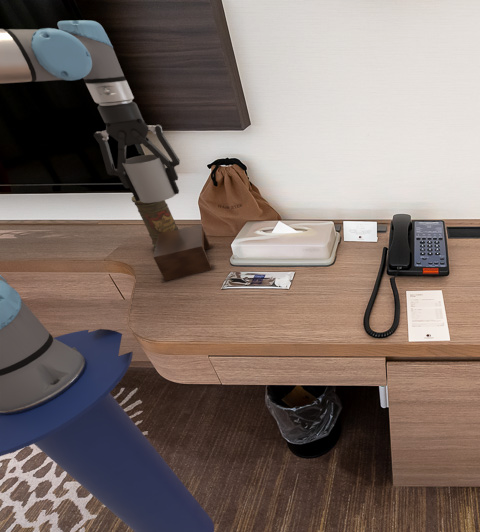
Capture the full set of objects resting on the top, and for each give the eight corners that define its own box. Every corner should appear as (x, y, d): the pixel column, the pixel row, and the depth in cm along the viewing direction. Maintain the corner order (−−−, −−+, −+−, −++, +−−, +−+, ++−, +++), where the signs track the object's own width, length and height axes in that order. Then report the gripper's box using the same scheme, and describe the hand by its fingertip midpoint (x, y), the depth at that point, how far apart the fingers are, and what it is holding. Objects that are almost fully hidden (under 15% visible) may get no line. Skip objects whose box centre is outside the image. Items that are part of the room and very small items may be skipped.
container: (148, 250, 112) (122, 198, 102) (171, 237, 119) (148, 188, 109) (169, 254, 109) (144, 201, 100) (191, 241, 117) (170, 190, 107)
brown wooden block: (165, 281, 97) (153, 257, 92) (169, 255, 109) (158, 233, 105) (211, 269, 101) (201, 246, 97) (210, 246, 113) (201, 224, 109)
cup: (176, 198, 90) (159, 160, 85) (139, 205, 87) (120, 166, 81) (175, 188, 96) (160, 152, 91) (141, 195, 93) (124, 158, 88)
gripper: (53, 110, 73) (108, 209, 85) (166, 99, 80) (201, 192, 92) (64, 105, 78) (114, 198, 91) (169, 96, 86) (201, 183, 98)
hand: (158, 195), depth 92 cm, fingers closed on cup, 8 cm apart
